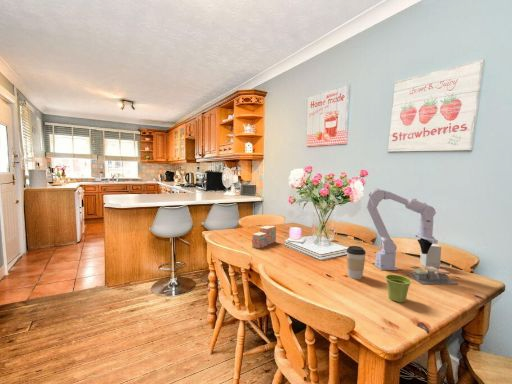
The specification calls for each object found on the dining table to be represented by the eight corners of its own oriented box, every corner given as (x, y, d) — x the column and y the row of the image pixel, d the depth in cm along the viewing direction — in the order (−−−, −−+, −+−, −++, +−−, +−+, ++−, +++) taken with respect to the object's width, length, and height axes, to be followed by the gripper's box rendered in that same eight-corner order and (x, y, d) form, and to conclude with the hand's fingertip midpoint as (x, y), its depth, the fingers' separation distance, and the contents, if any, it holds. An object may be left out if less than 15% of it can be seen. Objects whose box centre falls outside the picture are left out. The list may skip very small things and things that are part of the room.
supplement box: (440, 269, 139) (441, 246, 138) (425, 268, 140) (426, 245, 139) (433, 264, 146) (435, 243, 145) (419, 263, 147) (420, 242, 146)
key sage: (418, 279, 123) (418, 272, 123) (413, 275, 127) (413, 269, 127) (426, 279, 124) (427, 272, 123) (421, 275, 128) (421, 269, 127)
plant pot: (379, 294, 109) (380, 274, 109) (400, 293, 110) (401, 273, 110) (393, 305, 100) (394, 284, 99) (415, 304, 101) (417, 283, 100)
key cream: (429, 276, 124) (430, 269, 123) (424, 273, 127) (424, 266, 127) (437, 276, 124) (438, 269, 123) (432, 273, 128) (432, 266, 127)
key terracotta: (440, 279, 124) (441, 272, 123) (434, 275, 128) (435, 269, 127) (448, 279, 124) (449, 272, 124) (442, 275, 128) (443, 269, 128)
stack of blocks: (259, 249, 172) (259, 231, 171) (252, 247, 176) (252, 229, 175) (275, 242, 190) (276, 225, 189) (268, 240, 193) (269, 224, 192)
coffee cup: (364, 274, 131) (365, 245, 130) (365, 281, 122) (366, 250, 121) (345, 271, 134) (346, 243, 133) (345, 278, 125) (346, 248, 124)
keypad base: (421, 284, 120) (422, 279, 119) (406, 274, 131) (406, 269, 131) (457, 284, 120) (457, 279, 120) (438, 274, 132) (439, 269, 132)
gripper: (444, 231, 126) (442, 258, 127) (424, 225, 140) (422, 249, 141) (430, 231, 126) (428, 258, 127) (411, 225, 140) (410, 249, 141)
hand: (424, 253), depth 134 cm, fingers closed
